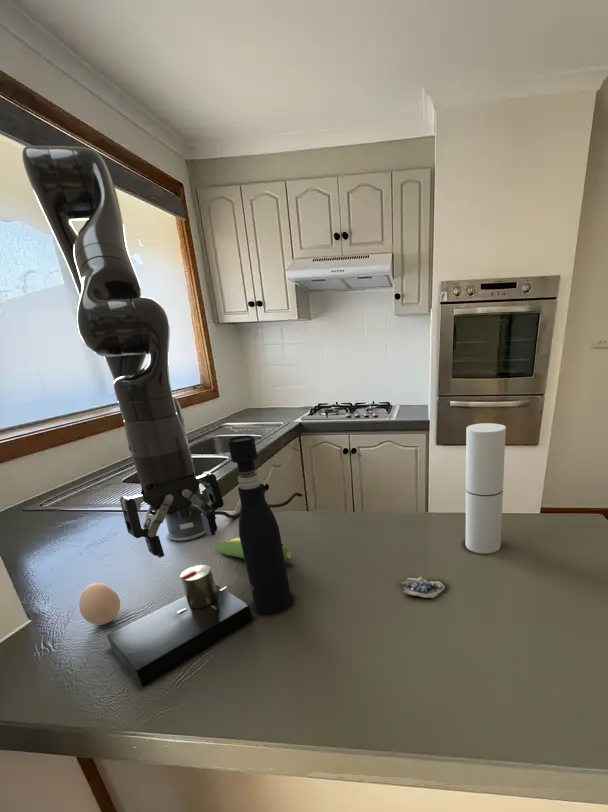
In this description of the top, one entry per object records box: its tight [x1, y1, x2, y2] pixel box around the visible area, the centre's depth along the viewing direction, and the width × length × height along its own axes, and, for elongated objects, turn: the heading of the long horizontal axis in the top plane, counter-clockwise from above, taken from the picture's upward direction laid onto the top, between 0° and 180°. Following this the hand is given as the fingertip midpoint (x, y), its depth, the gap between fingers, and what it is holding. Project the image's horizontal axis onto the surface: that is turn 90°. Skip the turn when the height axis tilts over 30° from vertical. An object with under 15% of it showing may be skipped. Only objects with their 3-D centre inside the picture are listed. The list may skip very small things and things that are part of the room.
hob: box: [106, 582, 253, 687], centre depth 69 cm, size 18×12×3 cm
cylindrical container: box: [464, 422, 507, 554], centre depth 84 cm, size 7×7×25 cm
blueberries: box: [400, 576, 446, 599], centre depth 75 cm, size 7×8×2 cm
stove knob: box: [179, 564, 218, 608], centre depth 71 cm, size 5×5×6 cm
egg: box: [78, 582, 121, 626], centre depth 72 cm, size 6×6×8 cm
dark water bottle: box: [227, 435, 292, 615], centre depth 69 cm, size 6×6×30 cm
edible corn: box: [213, 537, 292, 563], centre depth 90 cm, size 5×20×5 cm, turn 64°
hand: (186, 544), depth 68 cm, fingers open, 8 cm apart
